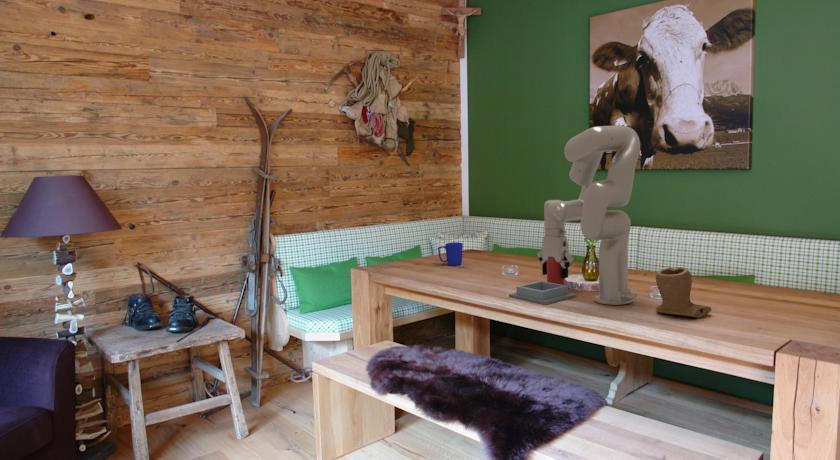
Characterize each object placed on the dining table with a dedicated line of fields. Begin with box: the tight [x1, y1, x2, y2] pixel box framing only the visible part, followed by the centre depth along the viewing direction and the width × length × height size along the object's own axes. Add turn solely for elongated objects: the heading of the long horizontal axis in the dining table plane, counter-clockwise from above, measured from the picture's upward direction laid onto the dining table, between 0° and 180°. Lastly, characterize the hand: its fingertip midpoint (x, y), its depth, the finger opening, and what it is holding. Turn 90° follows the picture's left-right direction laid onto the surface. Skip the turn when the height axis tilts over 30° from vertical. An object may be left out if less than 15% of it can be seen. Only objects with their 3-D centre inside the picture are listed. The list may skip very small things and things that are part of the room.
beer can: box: [546, 257, 565, 285], centre depth 254 cm, size 7×7×12 cm
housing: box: [508, 280, 577, 306], centre depth 239 cm, size 18×16×4 cm
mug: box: [437, 241, 464, 266], centre depth 311 cm, size 8×12×10 cm
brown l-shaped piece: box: [655, 266, 712, 319], centre depth 206 cm, size 15×12×15 cm
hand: (555, 276), depth 255 cm, fingers open, 9 cm apart
